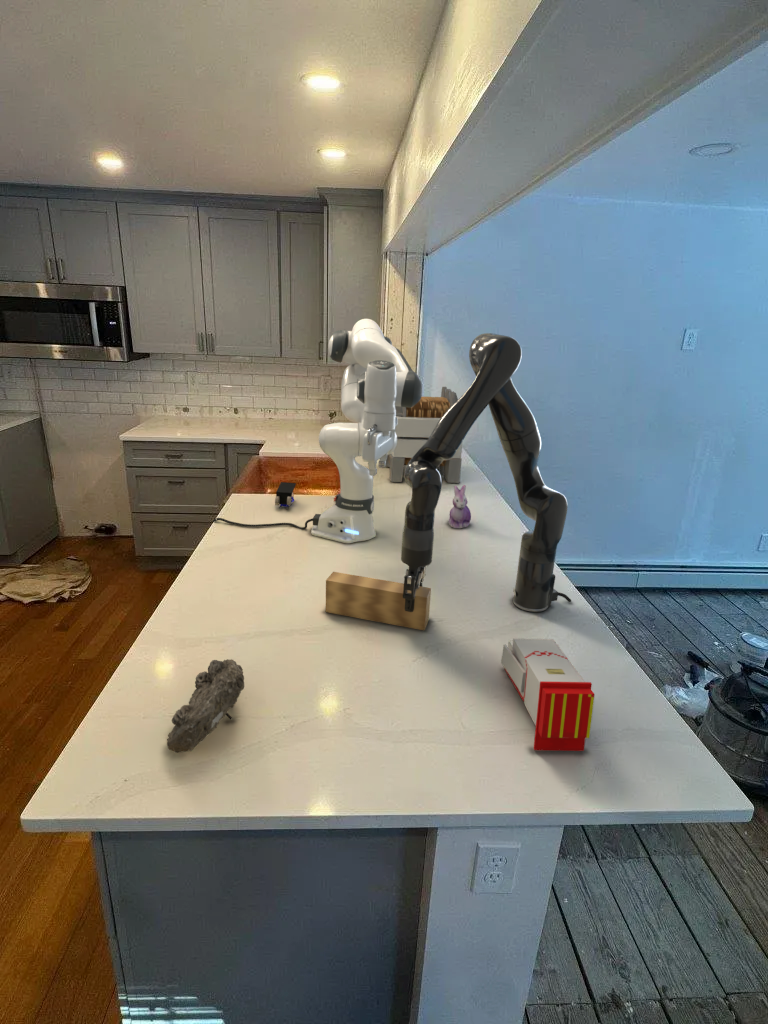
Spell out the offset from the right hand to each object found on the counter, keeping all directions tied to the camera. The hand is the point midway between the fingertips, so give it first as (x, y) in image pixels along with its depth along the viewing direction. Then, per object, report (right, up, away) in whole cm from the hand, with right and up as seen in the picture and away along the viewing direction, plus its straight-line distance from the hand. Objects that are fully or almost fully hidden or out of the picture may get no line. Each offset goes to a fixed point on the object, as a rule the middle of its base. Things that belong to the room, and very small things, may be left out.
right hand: (413, 603), depth 142 cm
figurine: (+21, +18, +69) cm, 74 cm away
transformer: (+10, +42, +133) cm, 140 cm away
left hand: (-9, +34, +18) cm, 40 cm away
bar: (-9, -4, +4) cm, 11 cm away
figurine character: (-46, +25, +81) cm, 97 cm away
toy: (+24, -16, -26) cm, 39 cm away
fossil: (-40, -16, -34) cm, 55 cm away
